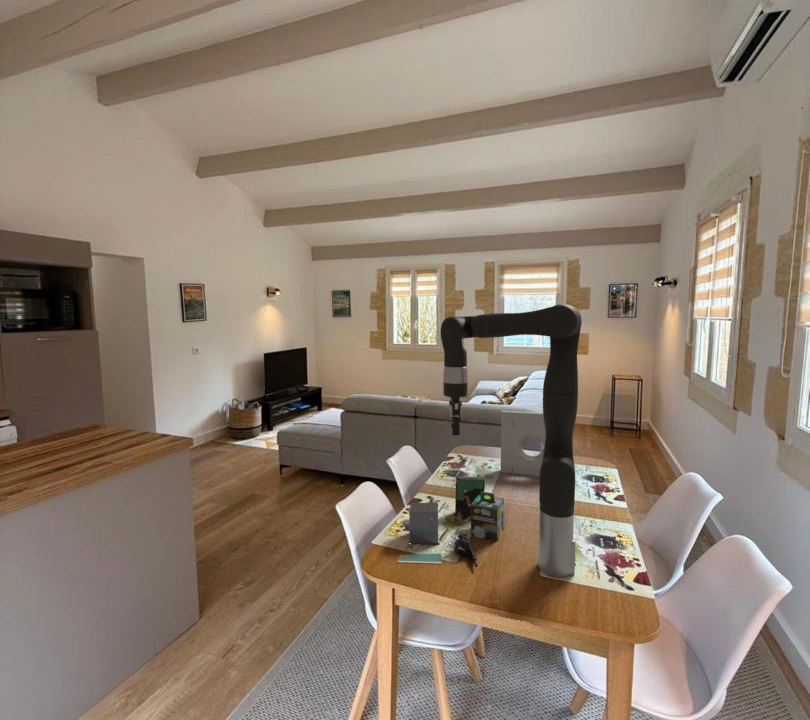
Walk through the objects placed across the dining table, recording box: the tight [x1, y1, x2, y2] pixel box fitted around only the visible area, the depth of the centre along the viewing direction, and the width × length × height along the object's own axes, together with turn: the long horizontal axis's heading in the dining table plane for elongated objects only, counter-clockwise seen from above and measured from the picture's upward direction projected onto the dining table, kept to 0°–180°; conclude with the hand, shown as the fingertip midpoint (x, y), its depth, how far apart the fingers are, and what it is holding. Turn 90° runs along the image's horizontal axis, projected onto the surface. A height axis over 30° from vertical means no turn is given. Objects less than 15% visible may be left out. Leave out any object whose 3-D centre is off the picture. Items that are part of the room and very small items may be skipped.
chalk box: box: [470, 491, 505, 542], centre depth 145 cm, size 9×9×15 cm
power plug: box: [447, 534, 478, 568], centre depth 130 cm, size 6×8×12 cm
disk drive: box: [454, 475, 486, 517], centre depth 157 cm, size 10×3×15 cm, turn 78°
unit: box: [408, 502, 441, 546], centre depth 142 cm, size 10×8×11 cm
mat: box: [397, 553, 443, 565], centre depth 133 cm, size 13×9×1 cm
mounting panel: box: [500, 410, 546, 477], centre depth 192 cm, size 27×5×30 cm, turn 73°
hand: (455, 431), depth 138 cm, fingers open, 8 cm apart
